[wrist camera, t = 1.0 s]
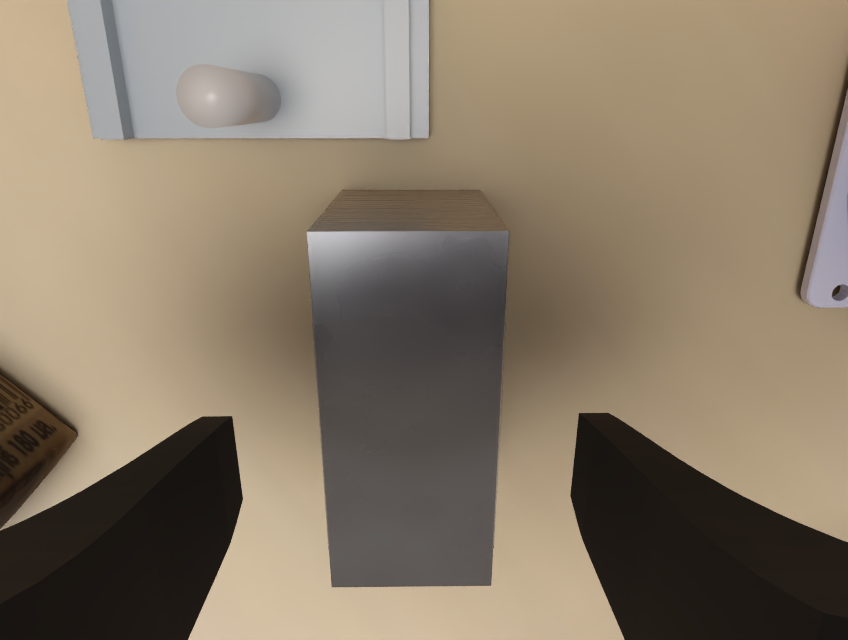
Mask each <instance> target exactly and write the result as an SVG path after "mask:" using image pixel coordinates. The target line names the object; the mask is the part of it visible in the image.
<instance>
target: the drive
mask: <svg viewBox="0 0 848 640" xmlns="http://www.w3.org/2000/svg"><path fill="white" fill-rule="evenodd" d="M307 242H308V257H309V271H310V285H311V299H312V313H313V336H314V350H315V364H316V378H317V392H318V406H319V420H320V435H321V449H322V463H323V477H324V491H325V505H326V519H327V534H328V548H329V555H330V569H331V583H332V587H400V586H491V578H492V558H493V548H494V533H495V513H496V494H497V475H498V455H499V436H500V416H501V397H502V377H503V358H504V338H505V302H506V283H507V263H508V243H509V230H508V229H507V227H506V226H505V225H504V223H503V222H502V221H501V219H500V218H499V217H498V215H497V214H496V212H495V211H494V210H493V208H492V207H491V206H490V204H489V203H488V202H487V200H486V199H485V197H484V196H483V195H482V193H481V192H480V191H479V190H342V191H341V192H340V194H339V195H338V196H337V197H336V198H335V199H334V200H333V202H332V203H331V204H330V205H329V206H328V207H327V209H326V210H325V211H324V212H323V213H322V214H321V216H320V217H319V218H318V219H317V220H316V221H315V223H314V224H313V225H312V226H311V227H310V228H309V230H308V231H307Z"/></svg>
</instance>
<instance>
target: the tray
mask: <svg viewBox="0 0 848 640" xmlns="http://www.w3.org/2000/svg"><path fill="white" fill-rule="evenodd" d="M67 2H68V7H69V13H70V18H71V23H72V29H73V34H74V39H75V45H76V50H77V55H78V61H79V66H80V71H81V77H82V82H83V87H84V92H85V98H86V103H87V108H88V114H89V119H90V124H91V130H92V135H93V138H100V139H101V140H125V139H133V138H387V139H410V138H429V0H67Z"/></svg>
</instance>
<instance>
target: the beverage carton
mask: <svg viewBox="0 0 848 640" xmlns="http://www.w3.org/2000/svg"><path fill="white" fill-rule="evenodd" d="M76 437H77V434H76V432H75V431H74V430H72V429H71V428H69V427H68V426H66V425H65V424H64V423H62V422H61V421H60V420H58V419H57V418H56V417H55V416H54V415H52V414H51V413H50V412H49V411H47V410H46V409H45V408H44V407H42V406H41V405H40V404H38V403H37V402H36V401H34V400H33V399H32V398H31V397H29V396H28V395H27V394H25V393H24V392H23V391H21V390H20V389H19V388H17V387H16V386H15V385H13V384H12V383H11V382H10V381H8V380H7V379H6V378H4V377H3V376H2V375H0V529H1V528H2V526H3V525H4V524H5V523H6V522H7V521H8V520H9V519H10V518H11V517H12V516H13V515H14V514H15V513H16V511H17V510H18V509H19V508H20V507H21V506H22V504H23V503H24V502H25V501H26V500H27V498H28V497H29V496H30V495H31V494H32V493H33V491H34V490H35V489H36V488H37V487H38V485H39V484H40V483H41V482H42V481H43V479H44V478H45V477H46V476H47V475H48V473H49V472H50V471H51V470H52V469H53V467H54V466H55V465H56V464H57V462H58V461H59V460H60V459H61V457H62V456H63V455H64V453H65V452H66V451H67V449H68V448H69V447H70V446H71V444H72V443H73V442H74V440H75V439H76Z"/></svg>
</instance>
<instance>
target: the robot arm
mask: <svg viewBox="0 0 848 640" xmlns="http://www.w3.org/2000/svg"><path fill="white" fill-rule="evenodd" d="M838 285H840V288H841V289H840V291H839V293H838V294H836V295H835V296H832V292H833V290H834V288H835V287H837V286H838ZM801 297H802V299H803V301H805V302H806V303H807V304H809V305H811V306H813V307H817V308H848V90H847V94H846V98H845V103H844V107H843V111H842V116H841V120H840V124H839V128H838V133H837V137H836V141H835V145H834V150H833V154H832V158H831V163H830V167H829V171H828V175H827V180H826V184H825V188H824V192H823V197H822V201H821V205H820V210H819V214H818V218H817V222H816V227H815V231H814V235H813V239H812V244H811V248H810V252H809V257H808V261H807V265H806V269H805V274H804V278H803V282H802V286H801ZM571 499H572V503H573V507H574V511H575V515H576V519H577V522H578V526H579V529H580V533H581V536H582V539H583V542H584V544H585V547H586V549H587V552H588V554H589V556H590V559H591V561H592V564H593V566H594V568H595V571H596V573H597V576H598V578H599V580H600V583H601V585H602V587H603V590H604V592H605V594H606V597H607V599H608V601H609V604H610V606H611V608H612V611H613V613H614V615H615V618H616V620H617V622H618V625H619V627H620V629H621V632H622V634H623V636H624V639H625V640H848V542H845V541H842V540H840V539H837V538H835V537H832V536H830V535H827V534H825V533H822V532H820V531H817V530H815V529H813V528H810V527H808V526H805V525H803V524H800V523H798V522H796V521H794V520H791V519H789V518H787V517H785V516H782V515H780V514H778V513H776V512H774V511H772V510H770V509H768V508H766V507H764V506H762V505H760V504H758V503H755V502H753V501H751V500H749V499H747V498H745V497H743V496H741V495H740V494H738V493H736V492H734V491H732V490H730V489H728V488H727V487H725V486H723V485H721V484H720V483H718V482H716V481H715V480H713V479H711V478H709V477H708V476H706V475H704V474H703V473H701V472H699V471H697V470H696V469H694V468H693V467H691V466H689V465H688V464H686V463H685V462H683V461H681V460H680V459H678V458H677V457H675V456H674V455H672V454H671V453H669V452H668V451H666V450H665V449H663V448H662V447H660V446H659V445H657V444H656V443H654V442H653V441H651V440H650V439H648V438H647V437H645V436H644V435H642V434H641V433H639V432H638V431H636V430H635V429H633V428H632V427H630V426H629V425H627V424H626V423H624V422H623V421H621V420H620V419H618V418H616V417H615V416H613V415H611V414H609V413H579V419H578V429H577V438H576V448H575V458H574V467H573V477H572V487H571ZM242 500H243V497H242V489H241V481H240V474H239V466H238V458H237V450H236V443H235V435H234V427H233V419H232V416H220V417H201V418H199V419H197V420H195V421H193V422H192V423H190V424H188V425H187V426H185V427H184V428H182V429H180V430H179V431H177V432H176V433H174V434H173V435H171V436H170V437H168V438H167V439H165V440H164V441H162V442H161V443H159V444H157V445H156V446H154V447H153V448H151V449H150V450H148V451H147V452H145V453H144V454H142V455H140V456H139V457H137V458H136V459H134V460H133V461H131V462H130V463H128V464H126V465H125V466H123V467H121V468H120V469H118V470H116V471H115V472H113V473H111V474H110V475H108V476H106V477H105V478H103V479H101V480H100V481H98V482H96V483H95V484H93V485H91V486H89V487H88V488H86V489H84V490H83V491H81V492H79V493H77V494H75V495H74V496H72V497H70V498H68V499H66V500H64V501H62V502H60V503H59V504H57V505H55V506H53V507H51V508H49V509H47V510H44V511H42V512H40V513H38V514H36V515H34V516H32V517H30V518H28V519H26V520H24V521H22V522H20V523H17V524H15V525H13V526H11V527H8V528H6V529H3V530H1V531H0V640H188V638H189V636H190V634H191V631H192V629H193V627H194V625H195V622H196V620H197V618H198V616H199V613H200V611H201V609H202V607H203V604H204V602H205V600H206V598H207V595H208V593H209V591H210V589H211V586H212V584H213V582H214V580H215V577H216V575H217V573H218V571H219V568H220V566H221V564H222V561H223V559H224V557H225V554H226V552H227V550H228V547H229V545H230V543H231V539H232V536H233V533H234V529H235V526H236V523H237V519H238V515H239V512H240V508H241V504H242Z"/></svg>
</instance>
